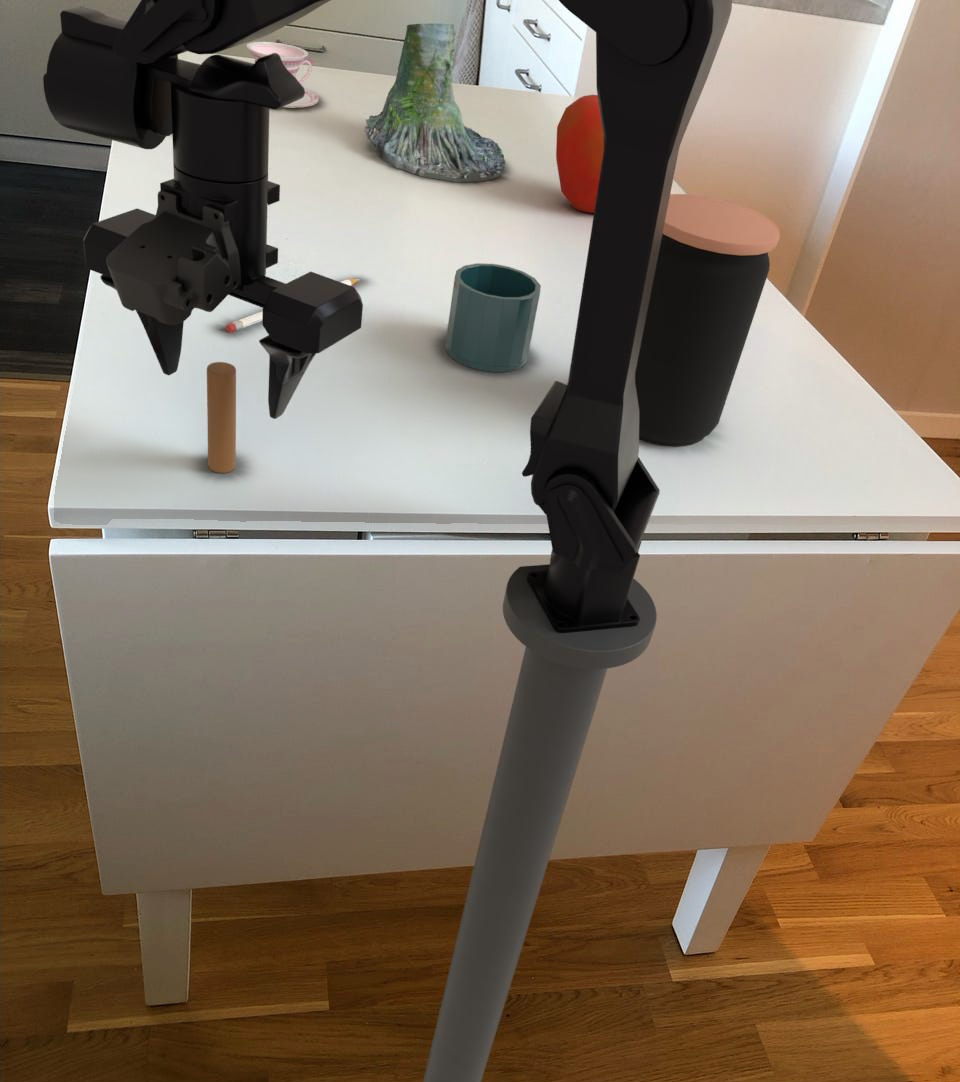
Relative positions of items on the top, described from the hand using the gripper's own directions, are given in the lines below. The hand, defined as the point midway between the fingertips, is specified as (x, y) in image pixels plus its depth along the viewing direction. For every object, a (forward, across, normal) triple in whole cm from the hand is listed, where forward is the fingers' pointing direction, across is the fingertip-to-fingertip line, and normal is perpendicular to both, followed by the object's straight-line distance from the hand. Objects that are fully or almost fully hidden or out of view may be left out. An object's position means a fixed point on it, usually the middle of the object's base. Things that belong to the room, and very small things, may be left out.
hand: (222, 394), depth 77 cm
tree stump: (+6, -26, +80) cm, 84 cm away
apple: (+6, -2, +78) cm, 79 cm away
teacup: (+6, -54, +83) cm, 99 cm away
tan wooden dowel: (+6, 0, 0) cm, 6 cm away
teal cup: (+6, +6, +32) cm, 33 cm away
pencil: (+6, -12, +28) cm, 31 cm away
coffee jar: (+6, +24, +31) cm, 40 cm away
